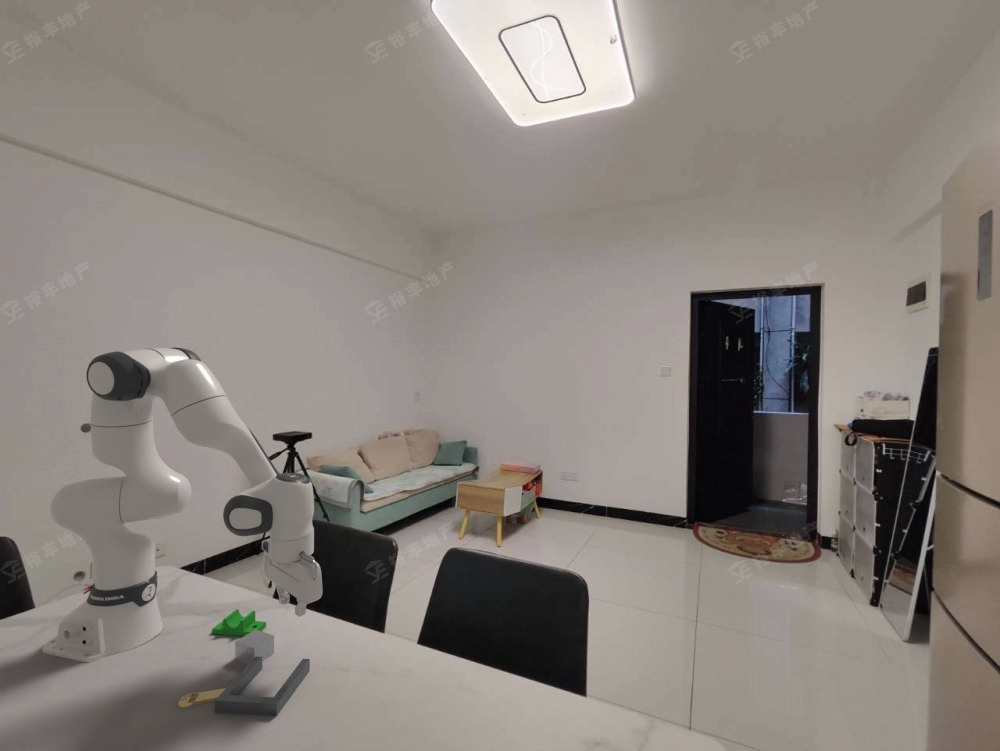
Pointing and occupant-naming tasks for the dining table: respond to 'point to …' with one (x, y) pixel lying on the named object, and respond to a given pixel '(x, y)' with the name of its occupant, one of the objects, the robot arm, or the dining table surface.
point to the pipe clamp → (238, 624)
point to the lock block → (254, 646)
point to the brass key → (199, 698)
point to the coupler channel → (253, 704)
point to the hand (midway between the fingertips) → (292, 608)
